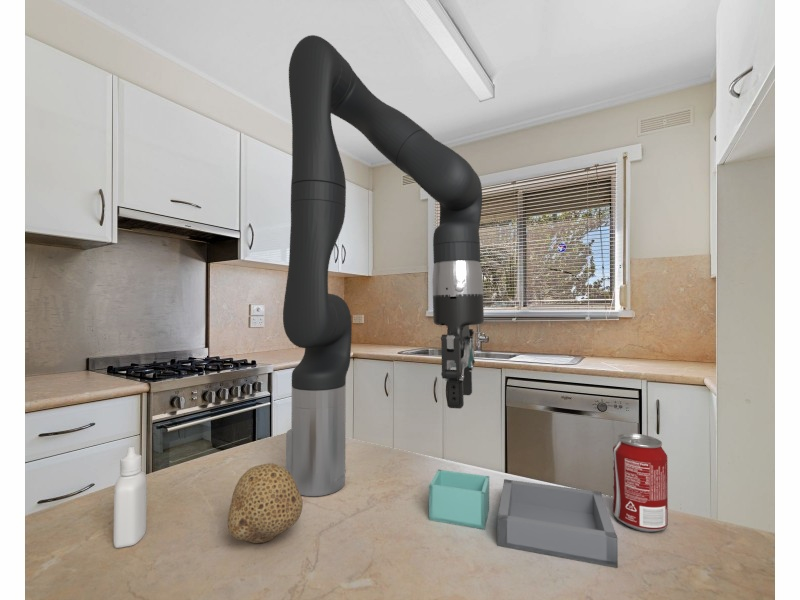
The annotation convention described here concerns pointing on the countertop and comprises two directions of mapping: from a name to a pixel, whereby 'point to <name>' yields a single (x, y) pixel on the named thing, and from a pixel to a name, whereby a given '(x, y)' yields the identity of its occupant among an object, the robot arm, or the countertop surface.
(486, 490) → the small crate
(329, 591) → the countertop surface
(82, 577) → the countertop surface
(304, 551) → the countertop surface
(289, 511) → the natural sponge
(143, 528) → the eye dropper bottle
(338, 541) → the countertop surface
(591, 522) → the large crate
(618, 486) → the soda can
